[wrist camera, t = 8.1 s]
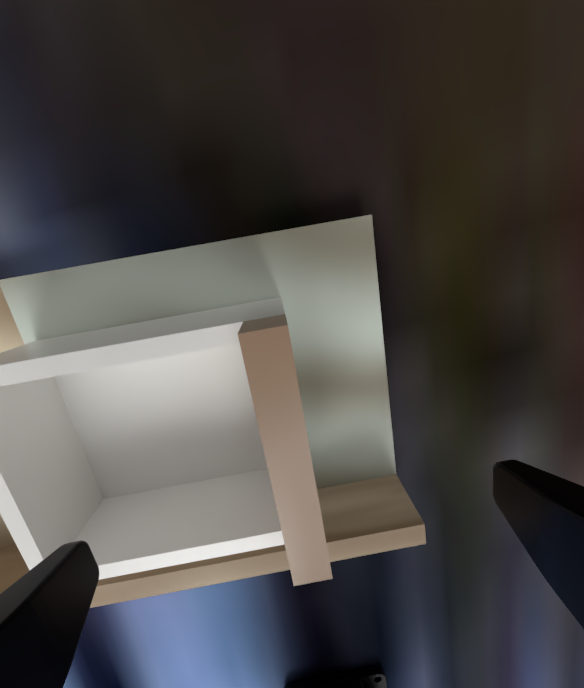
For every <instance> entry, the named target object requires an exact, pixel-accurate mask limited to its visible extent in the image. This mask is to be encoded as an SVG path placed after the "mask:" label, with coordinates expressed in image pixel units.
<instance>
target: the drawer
mask: <svg viewBox="0 0 584 688" xmlns="http://www.w3.org/2000/svg"><path fill="white" fill-rule="evenodd" d="M0 514H1V516H2V518H3V520H4V522H5V524H6V526H7V528H8V530H9V532H10V534H11V536H12V538H13V540H14V541H15V543H16V545H17V547H18V549H19V551H20V553H21V555H22V557H23V559H24V561H25V563H26V565H27V567H28V569H29V570H31V569H32V568H34V567H35V566H36V565H37V564H39V563H40V562H41V561H43V560H44V559H45V558H46V557H48V556H49V555H50V554H51V553H53V552H54V551H55V550H56V549H58V548H59V547H60V546H62V545H64V544H66V543H70V542H75V541H81V540H82V541H86V542H87V543H88V544H89V546H90V549H91V551H92V553H93V556H94V558H95V560H96V562H97V565H98V567H99V580H100V579H106V578H111V577H116V576H121V575H127V574H132V573H137V572H142V571H148V570H153V569H158V568H163V567H169V566H174V565H179V564H185V563H190V562H195V561H200V560H206V559H211V558H216V557H221V556H227V555H232V554H237V553H242V552H248V551H253V550H258V549H263V548H269V547H274V546H279V545H284V544H285V548H286V553H287V557H288V562H289V566H290V571H291V575H292V580H293V584H294V586H297V585H303V584H308V583H313V582H318V581H323V580H329V579H333V577H332V572H331V566H330V560H329V555H328V549H327V543H326V538H325V532H324V526H323V521H322V515H321V510H320V504H319V498H318V493H317V487H316V481H315V476H314V470H313V464H312V459H311V453H310V447H309V442H308V436H307V431H306V425H305V419H304V414H303V408H302V402H301V397H300V391H299V385H298V380H297V374H296V369H295V363H294V357H293V352H292V346H291V340H290V335H289V329H288V324H287V320H286V315H285V311H284V307H283V303H282V299H281V297H278V298H273V299H267V300H261V301H256V302H250V303H245V304H239V305H233V306H228V307H222V308H216V309H211V310H205V311H200V312H194V313H188V314H183V315H177V316H172V317H166V318H160V319H155V320H149V321H144V322H138V323H132V324H127V325H121V326H116V327H110V328H104V329H99V330H93V331H88V332H82V333H76V334H71V335H65V336H60V337H54V338H48V339H43V340H37V341H33V342H30V343H27V344H24V345H21V346H19V347H16V348H13V349H10V350H7V351H4V352H2V353H0Z"/></svg>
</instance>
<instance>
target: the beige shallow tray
mask: <svg viewBox="0 0 584 688" xmlns="http://www.w3.org/2000/svg"><path fill="white" fill-rule="evenodd" d="M278 297H281V299H282V303H283V307H284V311H285V315H286V320H287V324H288V329H289V335H290V340H291V346H292V352H293V357H294V363H295V369H296V374H297V380H298V385H299V391H300V397H301V402H302V408H303V414H304V419H305V425H306V431H307V436H308V442H309V447H310V453H311V459H312V464H313V470H314V476H315V481H316V487H317V493H318V498H319V504H320V510H321V515H322V521H323V526H324V532H325V538H326V543H327V549H328V555H329V560H330V562H333V561H338V560H343V559H349V558H354V557H359V556H364V555H370V554H375V553H380V552H385V551H390V550H396V549H401V548H406V547H411V546H417V545H422V544H426V535H425V524H424V522H423V520H422V518H421V517H420V515H419V513H418V511H417V510H416V508H415V506H414V505H413V503H412V501H411V499H410V498H409V496H408V494H407V492H406V491H405V489H404V487H403V485H402V484H401V482H400V480H399V478H398V477H397V475H396V467H395V456H394V445H393V435H392V424H391V414H390V403H389V392H388V382H387V371H386V360H385V350H384V339H383V329H382V318H381V307H380V297H379V286H378V275H377V265H376V254H375V243H374V233H373V222H372V215H366V216H361V217H355V218H349V219H343V220H338V221H332V222H326V223H321V224H315V225H309V226H304V227H298V228H292V229H286V230H281V231H275V232H269V233H264V234H258V235H252V236H246V237H241V238H235V239H229V240H224V241H218V242H212V243H207V244H201V245H195V246H189V247H184V248H178V249H172V250H167V251H161V252H155V253H150V254H144V255H138V256H132V257H127V258H121V259H115V260H110V261H104V262H98V263H93V264H87V265H81V266H75V267H70V268H64V269H58V270H53V271H47V272H41V273H35V274H30V275H24V276H18V277H13V278H7V279H1V280H0V353H2V352H4V351H7V350H10V349H13V348H16V347H19V346H21V345H24V344H27V343H30V342H33V341H37V340H43V339H48V338H54V337H60V336H65V335H71V334H76V333H82V332H88V331H93V330H99V329H104V328H110V327H116V326H121V325H127V324H132V323H138V322H144V321H149V320H155V319H160V318H166V317H172V316H177V315H183V314H188V313H194V312H200V311H205V310H211V309H216V308H222V307H228V306H233V305H239V304H245V303H250V302H256V301H261V300H267V299H273V298H278ZM286 570H290V566H289V562H288V557H287V553H286V548H285V544H284V545H279V546H274V547H269V548H263V549H258V550H253V551H248V552H242V553H237V554H232V555H227V556H221V557H216V558H211V559H206V560H200V561H195V562H190V563H185V564H179V565H174V566H169V567H163V568H158V569H153V570H148V571H142V572H137V573H132V574H127V575H121V576H116V577H111V578H106V579H100V580H98V584H97V587H96V590H95V593H94V596H93V599H92V603H91V606H90V608H92V607H98V606H103V605H108V604H113V603H119V602H124V601H129V600H134V599H140V598H145V597H150V596H155V595H160V594H166V593H171V592H176V591H181V590H187V589H192V588H197V587H202V586H207V585H213V584H218V583H223V582H228V581H234V580H239V579H244V578H249V577H255V576H260V575H265V574H270V573H275V572H281V571H286ZM29 571H30V570H29V569H28V567H27V565H26V563H25V561H24V559H23V557H22V555H21V553H20V551H19V549H18V547H17V545H16V543H15V541H14V540H13V538H12V536H11V534H10V532H9V530H8V528H7V526H6V524H5V522H4V520H3V518H2V516H1V514H0V594H1V593H2V592H3V591H4V590H6V589H7V588H8V587H10V586H11V585H12V584H13V583H15V582H16V581H17V580H18V579H20V578H21V577H22V576H23V575H25V574H26V573H27V572H29Z"/></svg>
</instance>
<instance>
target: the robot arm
mask: <svg viewBox="0 0 584 688" xmlns="http://www.w3.org/2000/svg"><path fill="white" fill-rule="evenodd" d="M493 496H494V499H495V502H496V504H497V506H498V507H499V509H500V510H501V512H502V514H503V515H504V517H505V518H506V520H507V521H508V523H509V524H510V526H511V527H512V529H513V530H514V532H515V533H516V535H517V537H518V538H519V540H520V541H521V543H522V544H523V546H524V547H525V549H526V550H527V552H528V553H529V555H530V557H531V558H532V560H533V561H534V563H535V564H536V566H537V567H538V569H539V570H540V572H541V573H542V575H543V576H544V577H545V579H546V580H547V582H548V583H549V584H550V586H551V587H552V588H553V590H554V591H555V592H556V594H557V595H558V596H559V598H560V599H561V600H562V602H563V603H564V604H565V605H566V607H567V608H568V609H569V611H570V612H571V613H572V614H573V616H574V617H575V618H576V620H577V621H578V622H579V623H580V625H581V626H582V627H583V629H584V486H581V485H578V484H576V483H573V482H571V481H568V480H566V479H563V478H561V477H558V476H555V475H553V474H550V473H548V472H545V471H543V470H540V469H538V468H535V467H532V466H530V465H527V464H525V463H522V462H520V461H517V460H507V461H501V462H497V463H495V464H494V466H493ZM98 580H99V567H98V565H97V562H96V560H95V558H94V556H93V553H92V551H91V549H90V546H89V544H88V543H87V542H86V541H82V540H81V541H75V542H70V543H66V544H64V545H62V546H60V547H59V548H58V549H56V550H55V551H54V552H53V553H51V554H50V555H49V556H48V557H46V558H45V559H44V560H43V561H41V562H40V563H39V564H37V565H36V566H35V567H34V568H32V569H31V570H30V571H29V572H27V573H26V574H25V575H23V576H22V577H21V578H20V579H18V580H17V581H16V582H15V583H13V584H12V585H11V586H10V587H8V588H7V589H6V590H4V591H3V592H2V593H1V594H0V688H63V685H64V683H65V680H66V678H67V675H68V672H69V670H70V667H71V664H72V661H73V658H74V655H75V652H76V649H77V646H78V643H79V640H80V637H81V634H82V630H83V627H84V624H85V621H86V618H87V615H88V612H89V609H90V606H91V603H92V599H93V596H94V593H95V590H96V587H97V584H98ZM284 688H387V684H386V677H385V674H384V670H383V668H382V667H379V666H375V667H369V668H364V669H359V670H354V671H349V672H344V673H339V674H334V675H329V676H324V677H319V678H314V679H308V680H303V681H298V682H293V683H289V684H287V685H285V687H284Z"/></svg>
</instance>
